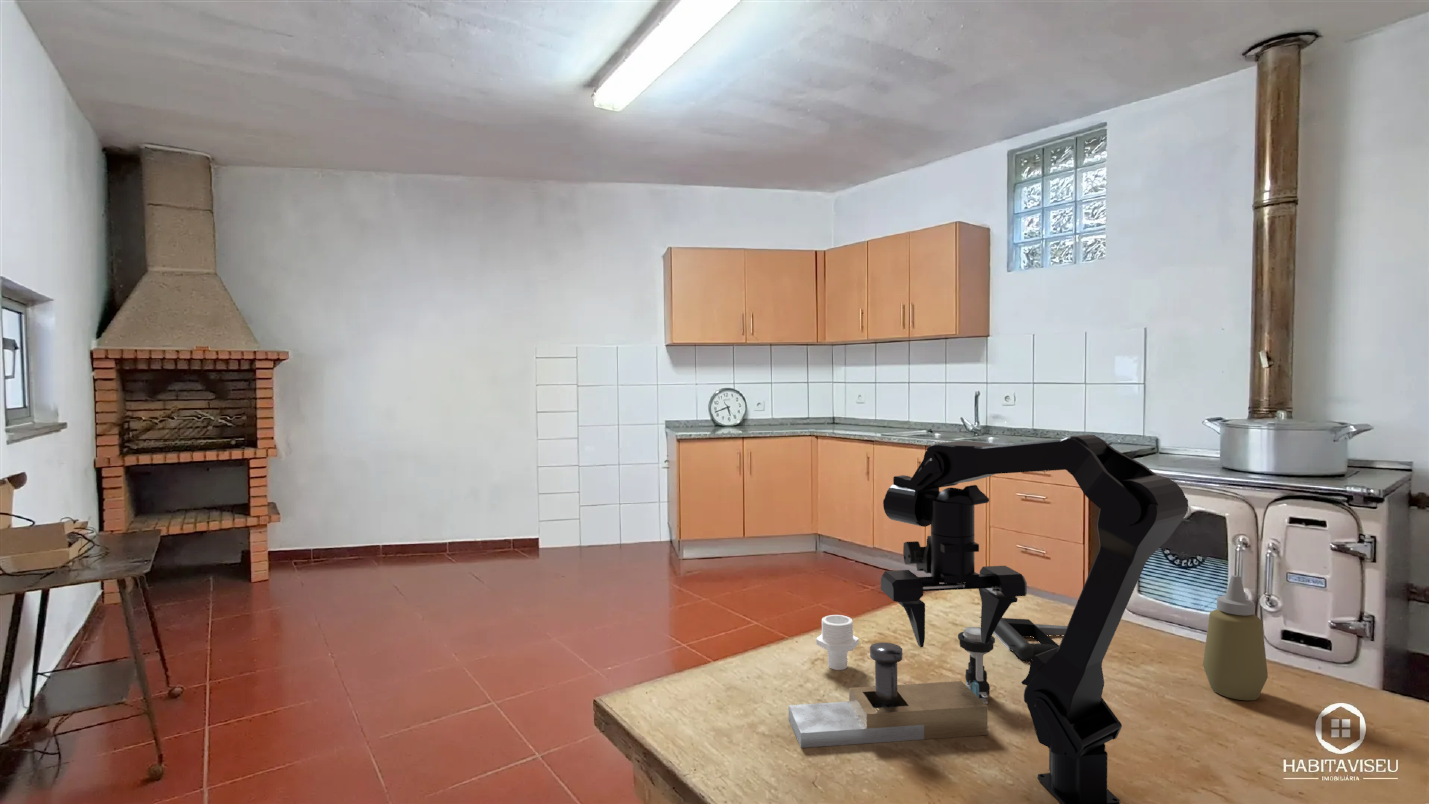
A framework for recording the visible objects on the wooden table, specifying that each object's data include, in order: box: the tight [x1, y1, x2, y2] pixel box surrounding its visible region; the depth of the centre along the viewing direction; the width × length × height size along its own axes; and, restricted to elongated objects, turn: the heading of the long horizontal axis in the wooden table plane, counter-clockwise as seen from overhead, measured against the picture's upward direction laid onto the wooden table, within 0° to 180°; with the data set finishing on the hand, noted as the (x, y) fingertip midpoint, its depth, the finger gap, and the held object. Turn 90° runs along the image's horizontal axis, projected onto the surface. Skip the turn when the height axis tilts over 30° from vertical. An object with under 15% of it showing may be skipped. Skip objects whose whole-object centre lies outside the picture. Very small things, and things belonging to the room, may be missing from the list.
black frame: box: [979, 616, 1068, 662], centre depth 130 cm, size 3×20×16 cm
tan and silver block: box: [788, 680, 989, 749], centre depth 100 cm, size 8×26×4 cm, turn 96°
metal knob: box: [869, 642, 903, 708], centre depth 99 cm, size 4×4×11 cm
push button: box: [957, 626, 996, 705], centre depth 108 cm, size 7×5×10 cm
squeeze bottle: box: [1202, 574, 1269, 701], centre depth 108 cm, size 8×8×18 cm
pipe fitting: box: [815, 614, 860, 671], centre depth 120 cm, size 6×7×8 cm
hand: (952, 644), depth 98 cm, fingers open, 9 cm apart
